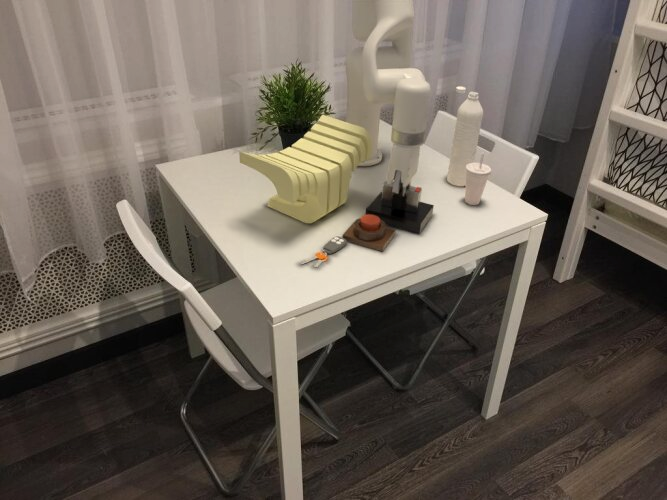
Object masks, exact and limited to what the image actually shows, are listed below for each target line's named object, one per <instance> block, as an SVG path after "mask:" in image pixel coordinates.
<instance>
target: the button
mask: <svg viewBox="0 0 667 500" xmlns="http://www.w3.org/2000/svg"><path fill="white" fill-rule="evenodd" d="M360 218H361V224H360V227H361V228H362V229H364V230H367V231H375V230H378V229H379V227H380V218H379V217H378V216H376V215H371V214H368V215H365V214H364V215H362V216H361V217H360Z"/></svg>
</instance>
